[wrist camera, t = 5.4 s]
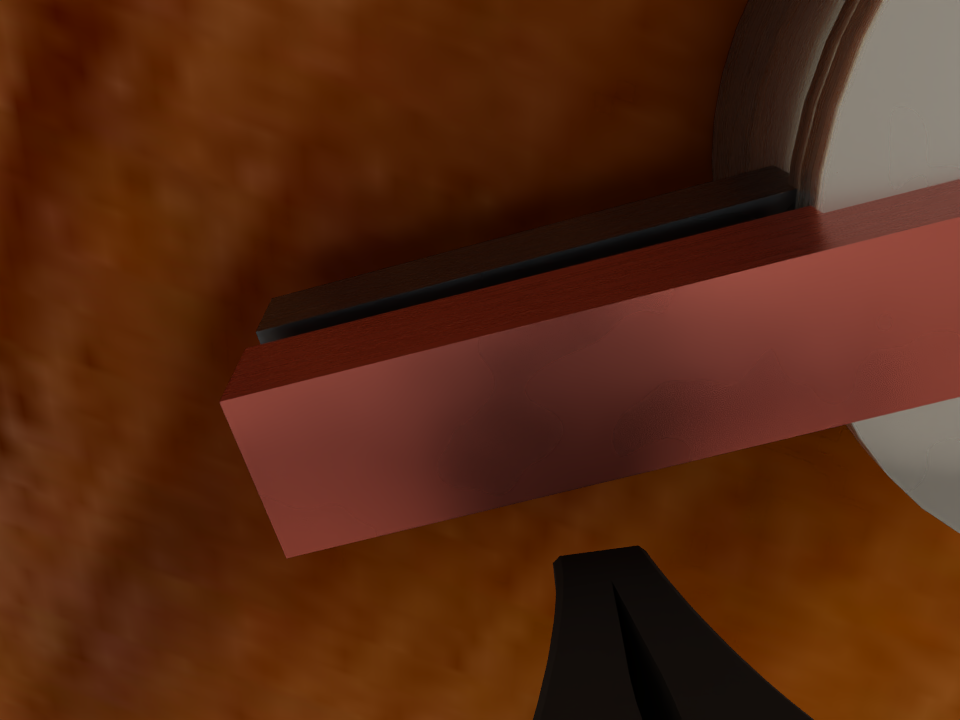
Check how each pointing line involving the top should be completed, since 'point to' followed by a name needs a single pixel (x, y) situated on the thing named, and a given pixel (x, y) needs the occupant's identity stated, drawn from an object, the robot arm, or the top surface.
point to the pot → (713, 205)
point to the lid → (657, 336)
